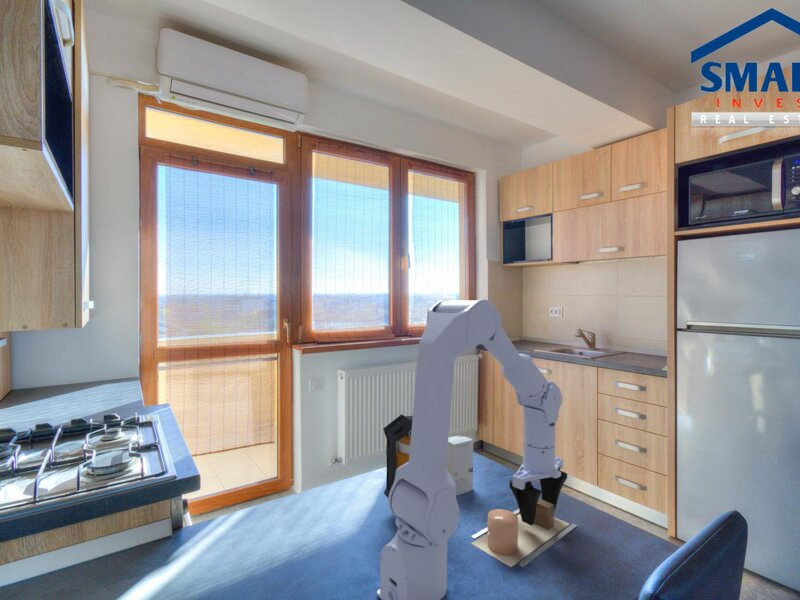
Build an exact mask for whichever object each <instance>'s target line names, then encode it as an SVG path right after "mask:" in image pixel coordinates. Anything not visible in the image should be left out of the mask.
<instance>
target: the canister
mask: <svg viewBox="0 0 800 600" xmlns="http://www.w3.org/2000/svg"><path fill="white" fill-rule="evenodd" d="M412 419H413V415H406V416H405V415H404V414H402V413H401V414H400V415H398V416H397V417H395V418H394V419H393V420H392V421H391V422H390V423H388V424H387V425H386V426H385V427H383V429H382V430H383V433H384V435H385V438H386V445H385V446H386V447H385V448H386V449H385V454H386V475H385V476H386V481H385V483H386V487H385V489H384V491H383V494H384V495H385V496H386V498H387V499H388V497H389V493H390V490H391V488H392V486H393V484H394V480H395V475H396V469H398V468H399V467H400V466H402V465H404V464H405V463H407V462H409V454H410V442H411V431H412Z"/></svg>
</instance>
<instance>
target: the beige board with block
mask: <svg viewBox="0 0 800 600" xmlns="http://www.w3.org/2000/svg"><path fill="white" fill-rule="evenodd" d="M516 516H517V517H518V551H517V552H516V553H515V554H513V555H509V556H505V555H499V554H496V553H494V552H493V551H491V550H490V549H489V547H488V532H486V533H485V534H483V535H481V536H480V537H478V538H476V539H475V540H474V541H472V542H471V543H470V544H471V545H473V546H474V547H476V548H477V549H479V550H481V551H482V552H484V553H485V554H488V555H489V556H491V557H493V558H495V559H497V560H498V561H500V563H503V564H505V565H506V566H508V567H510V568H513V567H514V566H515V565H517V564H519V563H520V562H521V561H523V560H524V559H525V558H527V557H528V556H530V555H531V554H532V553H534V552H535V551H536V550H538V549H539V548H540V547H542V546H543V545H545V544H546V543H547V541H548V542H549V541H550V540H551V539H553V538H554V537H555V536H557V535H558V534H559V533H561V532H562V531H564V530H565V529H566V528H568V527H569V526H570V523H569V522H566V521H563V520H562V519H559V518H557V517H555V511H554V504H551V503H549V502H546V501H544V500H542V498H539V499H538V502H537V506H536V515H535V521H534V524H533V525H529V524H527V523H525V522H523V521H522V519H521V515H520V513H518V514H516Z"/></svg>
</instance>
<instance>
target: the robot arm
mask: <svg viewBox="0 0 800 600" xmlns="http://www.w3.org/2000/svg"><path fill="white" fill-rule="evenodd" d="M478 345H482V346H483V347H484V348H485V349H486V350H487V351H488V352H489V353H490V354H491V355H492V356H493V357H494V359H496V360H497V361H498V362H499V364H500V365H501V366H502V367H501V374H502V376H503V377H504V378H505V379H506V381H507V382H508V383H509V385H510V386H511V387H512V388H513V389H514V392H515V397H516V401H517V403H518V405H520V406H522V407H523V418H522V419H523V423H522V424H523V426H522V427H523V428H522V430H523V432H522V433H523V437H522V438H523V439H522V441H523V443H522V444H523V445H522V446H523V447H522V448H523V450H522V451H523V454H522V455H523V456H522V459H523V461H522V464H521V465H520V467H519V468H518V470H517V472H516V473H515V474H513V475H512V479H511V480H510V481H509V483H508V484H509V489H510V490H511V492H512V494H513V496H514V497H515V501H516V503H517V506H518V509H519V511H520V513H519V514H520V515H521V519H522V521H523V522H525V523H527V524H529V525H533V524H534V521H535V515H536V506H537V502H538V499H540V495H541V499H542V500H544V501H546V502H549V503H551V504H554V512H555V511H556V509H557V504H558V501H559V496H560V492H561V490H562V487H563V486H564V484H565V482H566V480H567V479H568V474H567V473H566V472H564V471H562V470H563V468H564V458H562V457H558V456H556V422H558V421H559V417H560V416H559V415H560V413H559V411H560V408H561V406H562V403H563V395H562V391H561V388H560V386H558V385H557V383H555V382H553V381H548V379H547V378H546V377H545V375H544V373H543V372H542V371H541V370H540V369H539V367H538V366H537V365H536V364H535V363H534V361H533V360H534V359H533V357H532V356H531V355H528V354H525V353H519V352H518V350H517V348H516V347H515V345H514V344H513V342H512V340H511V339H510V338H509V336H508V335H507V333H506V331H505V330H504V328H503V327H502V315H501V313H500V312H499V311H498V310H497V308H496V306H495V305H494V303H493V302H491V301H490V300H488V299H477V300H450V299H442V300H439V301H437V302H436V303H435V304H434V305H432V306H431V307H430V308H428V310H427V315H426V326H425V328H424V331H423V333H422V335H421V337H420V340H419V342H418V349H417V361H416V362H417V363H416V372H415V373H416V374H415V385H414V399H413V411H412V416H413V419H412V431H411V442H410V454H409V462H407V463H405V464H404V465H402V466H400V467H399V468H398V469H396V475H395V480H394V484H393V486H392V488H391V490H390V493H389V497H388V498H387V499H388V501H387V502H388V503H387V504H388V509H389V511H390V512H391V514H393V516H395V525H396V527H397V530H396V531H397V532H396V534H395V536H394V537H393V538H392V539H391V540H390V541H389V542H388V543H387V544H386V545H384V546H383V548H381V552H380V557H379V558H380V560H379V561H380V564H379V565H380V566H379V567H380V569H379V572H380V574H379V575H380V576H379V577H380V579H379V588H378V590H377V591H376V595H377V597H378V598H380V599H381V600H442V598H443V599H444V597H445V596H446V594H447V591H448V540H449V539H451V537H452V535H453V534H454V533H455V532H456V529H457V527H458V524H459V521H460V520H459V519H460V508H459V505H458V502H457V495H456V485H455V483H454V481H453V479H452V477H451V475H450V473H449V472H448V470H447V467H446V461H447V448H448V438H449V435H450V434H449V433H450V421H451V407H452V397H453V396H452V395H453V383H454V373H455V372H454V370H455V361H456V360H457V358H458V357H460V356H461V355H462V354H463V353H464V352H465V351H468V350H470V349H473V348H474V347H477V346H478ZM537 480H539V483H540V489H538V488H536V487H534V485H533V484H532V483H533V482H534V481H537Z"/></svg>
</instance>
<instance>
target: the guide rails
mask: <svg viewBox="0 0 800 600" xmlns="http://www.w3.org/2000/svg"><path fill="white" fill-rule="evenodd" d="M512 512H513V513H514V514H515V515H516V516H517V515H519V514H520V511H519V508H518V509H515V510H514V511H512ZM577 527H578V525H577V524H575V523H571V524H569V525H568V526H567V527H565V528H564V529H563V530H561V531H560V532H559V533H557V534H556V535H554V536H553V537H552V538H550V539H549V540H548V542H547V541H546V542H545V543H544V544H542V545H541V546H540V547H538V548H537V549H535V550H534V551H533V552H531V553H530V554H529V555H527V556H526V557H525V558H523V559H522V560H521V561H519V562H518V565H519V566H521V567H522V568H525V566H527V565H528V564H529V563H531V562H533V560H535V559H536V558H537V557H539V556H540V555H541V554H543V553H544V552H546V551H547V550H548V549H549V548H550V547H552V546H553V545H554V544H556V543H557V542H558V541H560V540H561V539H562V538H564V537H565V536H566V535H568V534H569V533H570V532H571V531H573V530H574V529H575V528H577ZM487 533H488V526H486V527H484V528H483V529H481V530H480V531H478V532H476V533H475V534H473V535H471V536H470V538H471V539H473V540H477V539H479V538H480V537H482V536H484V535H485V534H487Z"/></svg>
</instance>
